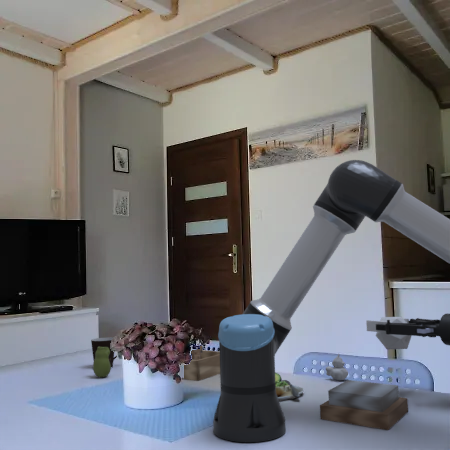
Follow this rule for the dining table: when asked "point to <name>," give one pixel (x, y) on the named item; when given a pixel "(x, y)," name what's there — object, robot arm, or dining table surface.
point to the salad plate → (286, 389)
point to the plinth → (365, 414)
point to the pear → (102, 362)
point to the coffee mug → (103, 343)
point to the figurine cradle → (203, 366)
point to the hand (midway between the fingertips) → (377, 324)
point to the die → (393, 336)
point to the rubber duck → (337, 369)
